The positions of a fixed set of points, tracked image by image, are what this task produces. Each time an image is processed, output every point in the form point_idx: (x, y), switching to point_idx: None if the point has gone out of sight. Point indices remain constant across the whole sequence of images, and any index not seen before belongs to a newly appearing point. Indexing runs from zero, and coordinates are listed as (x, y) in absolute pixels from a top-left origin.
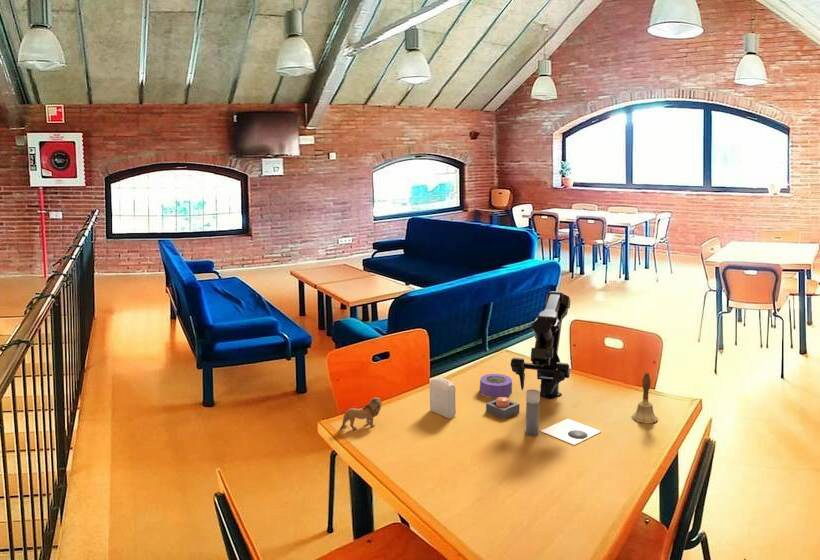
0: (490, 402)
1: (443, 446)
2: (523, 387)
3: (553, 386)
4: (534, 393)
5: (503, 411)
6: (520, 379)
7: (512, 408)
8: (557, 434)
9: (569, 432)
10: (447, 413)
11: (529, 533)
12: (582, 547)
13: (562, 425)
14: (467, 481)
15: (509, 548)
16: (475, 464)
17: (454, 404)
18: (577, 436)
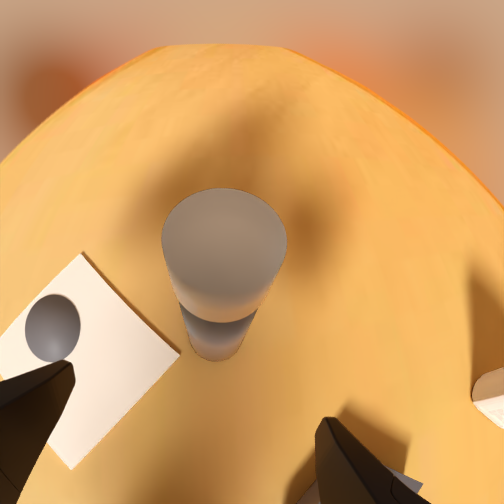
0: None
1: (431, 221)
2: (318, 457)
3: (21, 376)
4: (213, 206)
5: None
6: (384, 471)
7: (318, 497)
8: (116, 326)
9: (72, 342)
10: (491, 371)
11: (230, 54)
12: (176, 47)
13: (90, 409)
14: (335, 116)
15: (251, 46)
16: (344, 154)
17: (500, 390)
18: (55, 309)
